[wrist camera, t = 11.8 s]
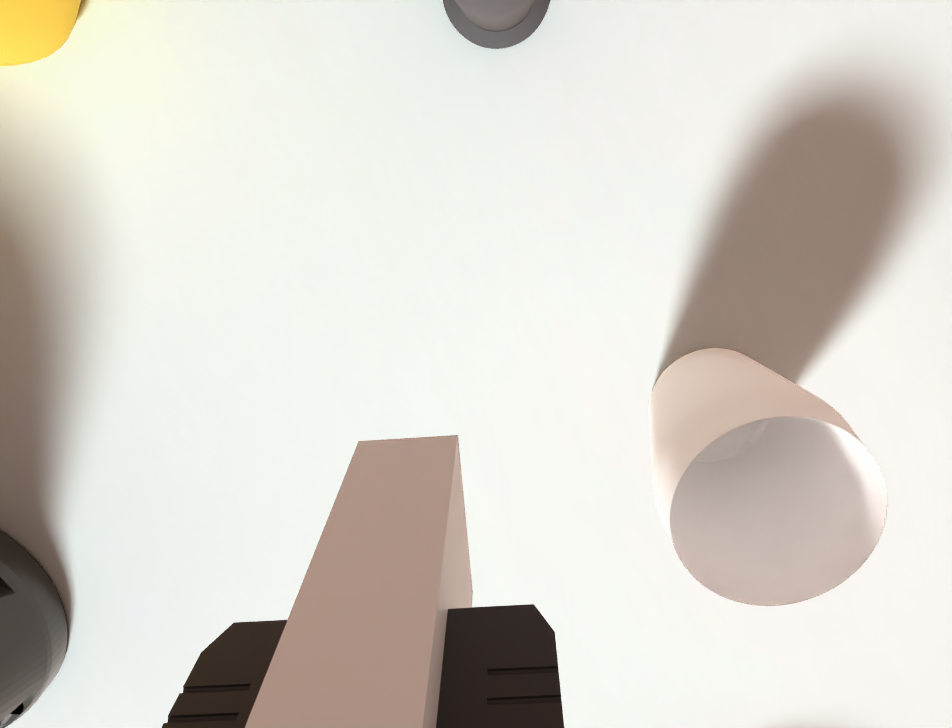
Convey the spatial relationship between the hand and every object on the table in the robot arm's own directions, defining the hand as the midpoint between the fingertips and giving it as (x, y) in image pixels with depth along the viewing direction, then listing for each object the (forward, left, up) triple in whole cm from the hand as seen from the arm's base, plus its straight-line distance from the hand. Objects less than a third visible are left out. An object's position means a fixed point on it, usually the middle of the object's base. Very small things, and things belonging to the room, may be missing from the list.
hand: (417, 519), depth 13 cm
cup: (+12, -11, -31) cm, 35 cm away
